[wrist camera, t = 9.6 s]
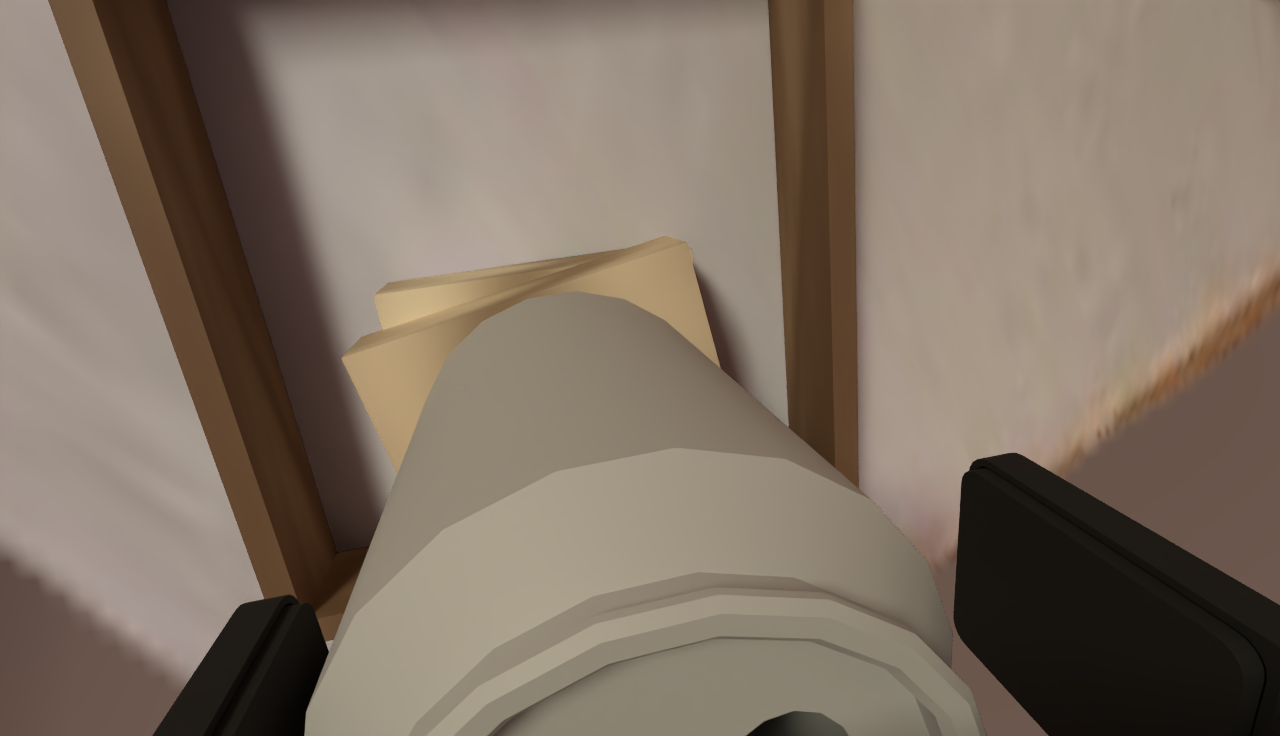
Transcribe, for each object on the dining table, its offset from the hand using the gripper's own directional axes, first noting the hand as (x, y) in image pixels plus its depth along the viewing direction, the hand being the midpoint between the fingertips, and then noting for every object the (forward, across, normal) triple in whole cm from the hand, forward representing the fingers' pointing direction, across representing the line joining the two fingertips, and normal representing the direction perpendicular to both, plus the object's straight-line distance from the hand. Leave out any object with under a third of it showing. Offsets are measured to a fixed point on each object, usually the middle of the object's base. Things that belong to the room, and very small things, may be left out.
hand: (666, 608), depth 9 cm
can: (+8, +1, 0) cm, 9 cm away
